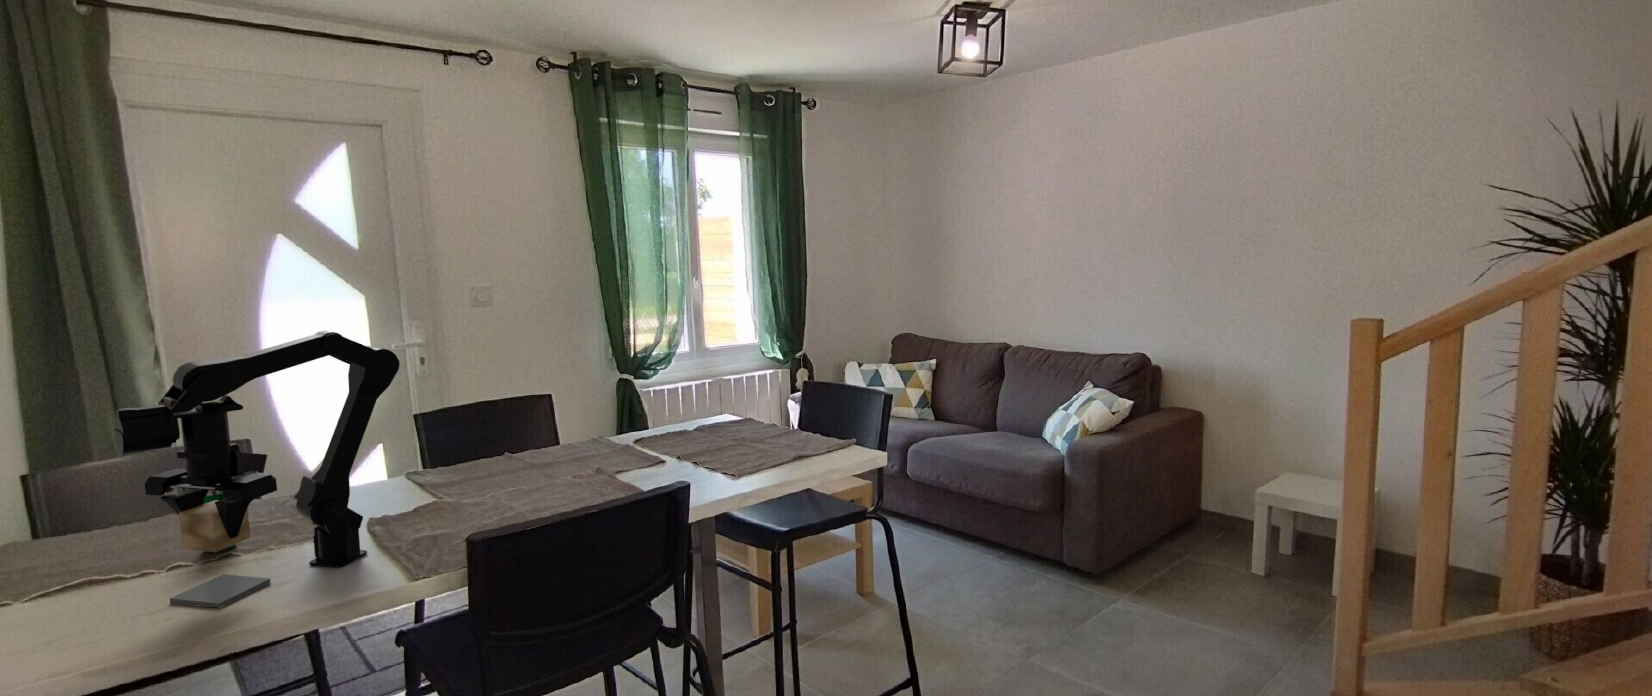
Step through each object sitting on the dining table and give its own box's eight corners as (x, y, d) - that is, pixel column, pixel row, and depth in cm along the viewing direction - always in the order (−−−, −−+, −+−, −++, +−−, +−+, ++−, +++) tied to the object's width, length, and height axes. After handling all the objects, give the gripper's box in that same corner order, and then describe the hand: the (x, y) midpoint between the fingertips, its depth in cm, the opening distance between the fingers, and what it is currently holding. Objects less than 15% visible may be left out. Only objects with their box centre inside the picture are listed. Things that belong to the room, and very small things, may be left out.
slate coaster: (270, 583, 126) (270, 578, 126) (219, 608, 117) (218, 603, 117) (224, 578, 127) (223, 574, 127) (170, 603, 118) (169, 598, 118)
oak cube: (250, 537, 123) (246, 502, 123) (215, 552, 118) (211, 515, 117) (219, 534, 124) (215, 500, 124) (182, 549, 119) (178, 512, 118)
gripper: (301, 432, 125) (309, 522, 127) (205, 426, 128) (215, 514, 130) (239, 449, 114) (249, 547, 116) (136, 443, 117) (147, 539, 119)
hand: (216, 535), depth 121 cm, fingers closed on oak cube, 6 cm apart
